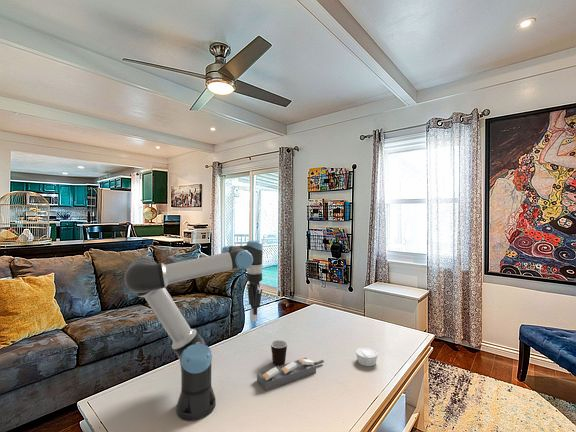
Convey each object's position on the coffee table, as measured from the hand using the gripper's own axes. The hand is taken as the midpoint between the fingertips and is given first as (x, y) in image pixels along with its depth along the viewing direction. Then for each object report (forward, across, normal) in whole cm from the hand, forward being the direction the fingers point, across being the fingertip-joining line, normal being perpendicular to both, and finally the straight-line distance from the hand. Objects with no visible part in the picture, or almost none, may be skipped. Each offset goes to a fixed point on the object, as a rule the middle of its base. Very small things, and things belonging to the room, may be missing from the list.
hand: (254, 320), depth 140 cm
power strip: (+26, -10, -17) cm, 33 cm away
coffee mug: (+27, +3, -17) cm, 32 cm away
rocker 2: (+21, -12, -13) cm, 28 cm away
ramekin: (+27, -20, -57) cm, 66 cm away
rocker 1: (+21, -12, -3) cm, 25 cm away
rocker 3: (+21, -12, -23) cm, 34 cm away
